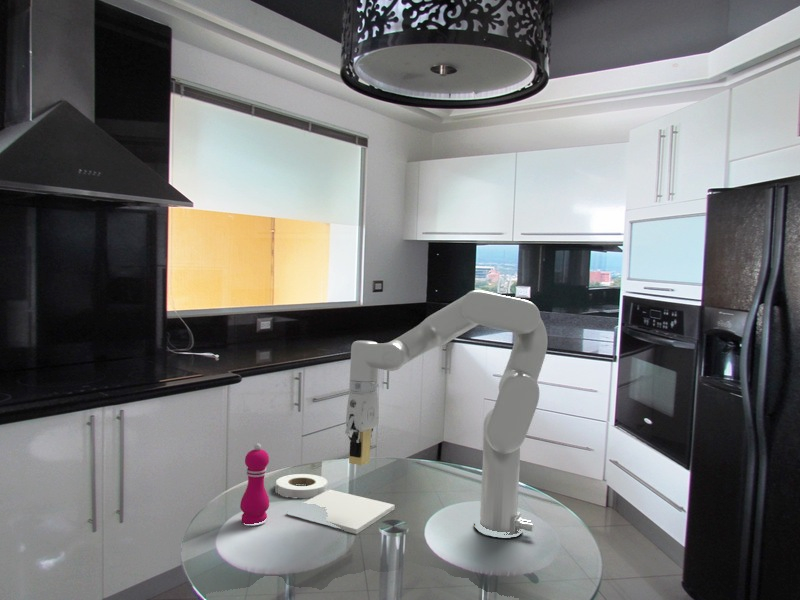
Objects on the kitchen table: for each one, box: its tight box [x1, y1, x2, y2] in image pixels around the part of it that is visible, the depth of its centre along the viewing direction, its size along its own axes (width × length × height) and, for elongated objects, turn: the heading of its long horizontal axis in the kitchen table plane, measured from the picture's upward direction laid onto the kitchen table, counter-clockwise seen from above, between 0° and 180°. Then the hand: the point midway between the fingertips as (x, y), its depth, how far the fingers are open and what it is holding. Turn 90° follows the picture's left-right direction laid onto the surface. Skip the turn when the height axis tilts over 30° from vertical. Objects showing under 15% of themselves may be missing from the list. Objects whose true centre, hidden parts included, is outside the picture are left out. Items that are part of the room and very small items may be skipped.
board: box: [302, 489, 395, 535], centre depth 149 cm, size 22×20×1 cm
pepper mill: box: [239, 443, 270, 524], centre depth 140 cm, size 7×7×20 cm
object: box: [275, 473, 328, 499], centre depth 165 cm, size 16×15×3 cm
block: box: [348, 427, 372, 466], centre depth 147 cm, size 4×4×10 cm
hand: (359, 453), depth 146 cm, fingers closed on block, 4 cm apart
